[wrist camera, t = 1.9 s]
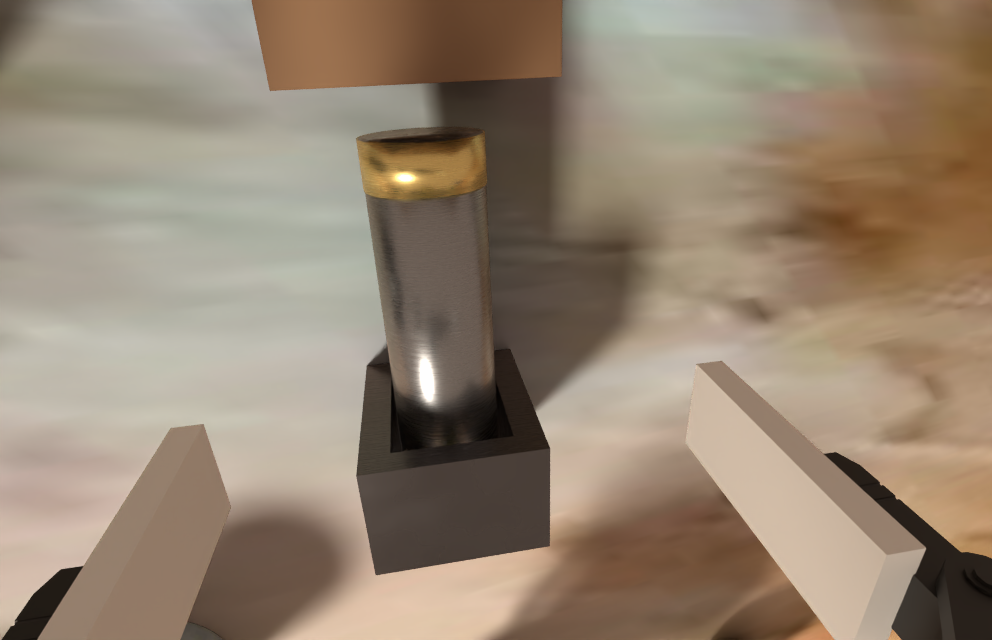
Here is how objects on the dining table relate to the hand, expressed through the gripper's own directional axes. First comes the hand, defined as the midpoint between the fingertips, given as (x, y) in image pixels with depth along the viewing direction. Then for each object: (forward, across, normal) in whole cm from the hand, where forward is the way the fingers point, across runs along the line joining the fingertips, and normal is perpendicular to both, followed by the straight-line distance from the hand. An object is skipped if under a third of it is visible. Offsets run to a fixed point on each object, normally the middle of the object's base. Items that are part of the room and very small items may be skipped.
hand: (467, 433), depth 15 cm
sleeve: (+16, 0, -9) cm, 19 cm away
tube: (+14, 0, -3) cm, 14 cm away
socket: (+16, 0, +11) cm, 19 cm away
